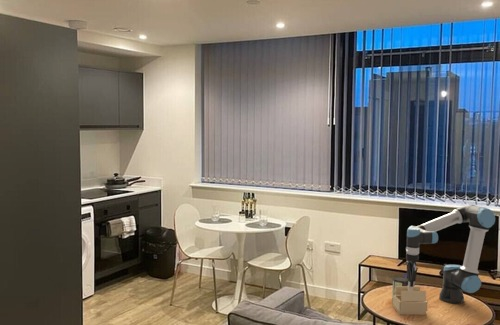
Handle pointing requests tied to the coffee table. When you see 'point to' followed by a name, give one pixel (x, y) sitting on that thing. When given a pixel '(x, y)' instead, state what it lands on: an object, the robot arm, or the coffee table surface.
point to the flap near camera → (413, 295)
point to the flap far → (405, 289)
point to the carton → (409, 306)
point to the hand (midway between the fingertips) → (410, 291)
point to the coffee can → (399, 283)
